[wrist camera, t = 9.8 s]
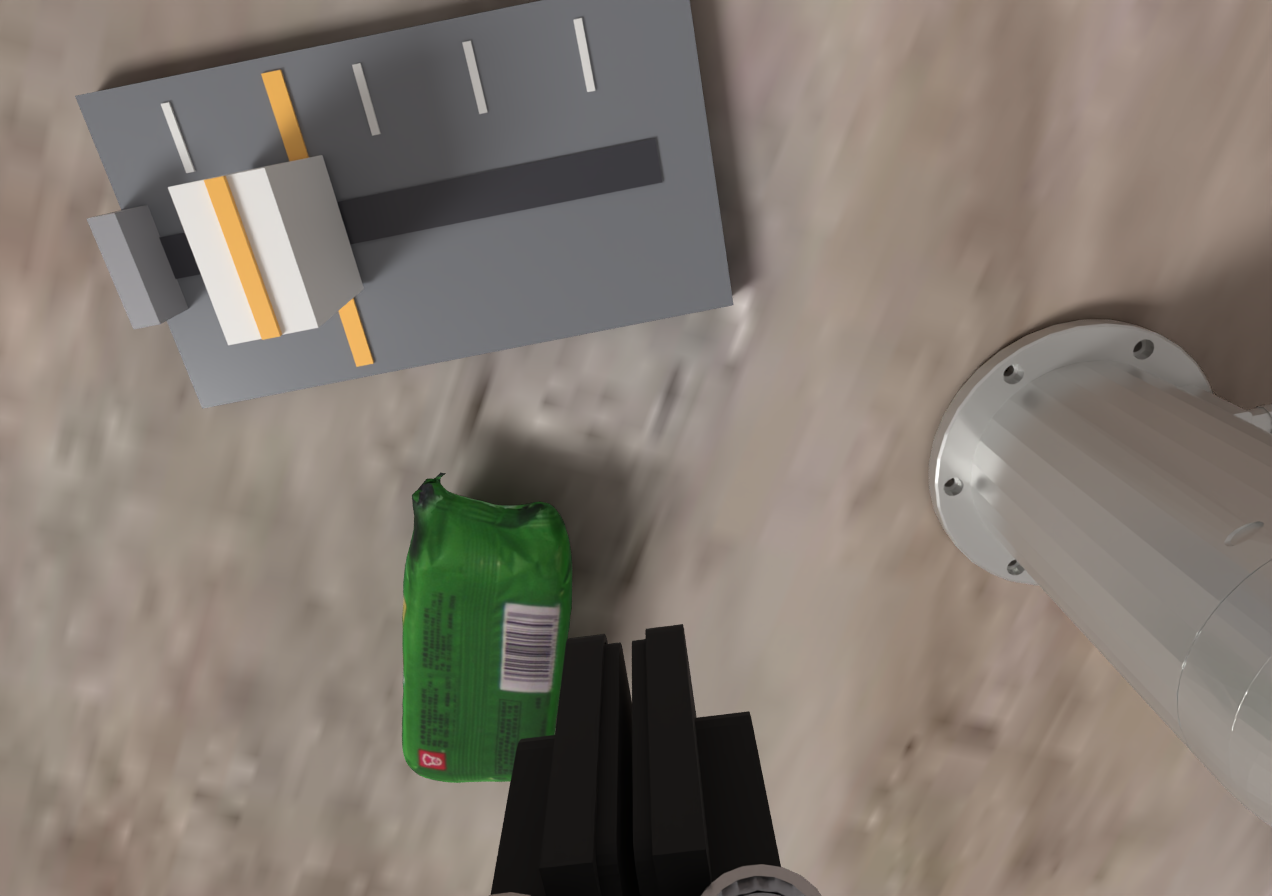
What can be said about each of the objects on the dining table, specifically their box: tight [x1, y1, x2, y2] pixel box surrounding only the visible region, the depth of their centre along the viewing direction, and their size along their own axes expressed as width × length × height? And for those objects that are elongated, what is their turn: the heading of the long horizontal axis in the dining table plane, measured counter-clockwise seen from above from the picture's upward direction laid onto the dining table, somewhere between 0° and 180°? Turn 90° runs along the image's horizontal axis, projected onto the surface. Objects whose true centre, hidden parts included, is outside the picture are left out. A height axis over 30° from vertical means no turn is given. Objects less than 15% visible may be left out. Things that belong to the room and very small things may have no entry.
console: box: [75, 0, 733, 409], centre depth 32 cm, size 22×12×4 cm, turn 100°
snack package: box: [402, 473, 572, 783], centre depth 39 cm, size 7×16×5 cm, turn 173°
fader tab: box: [168, 155, 364, 345], centre depth 29 cm, size 3×5×6 cm, turn 11°
